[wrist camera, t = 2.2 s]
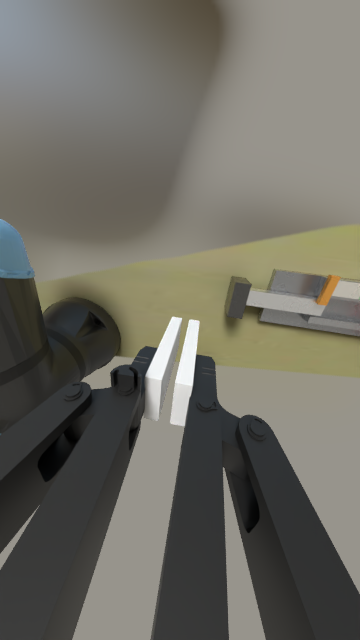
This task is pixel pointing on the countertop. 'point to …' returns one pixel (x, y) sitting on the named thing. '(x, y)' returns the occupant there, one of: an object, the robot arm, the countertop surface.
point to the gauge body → (342, 309)
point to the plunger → (276, 298)
